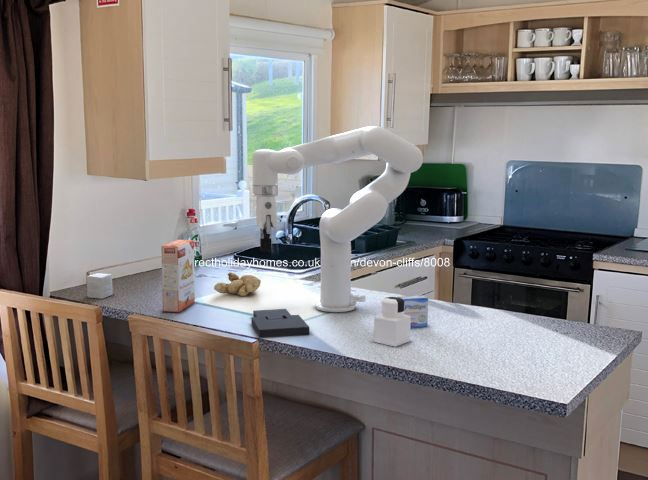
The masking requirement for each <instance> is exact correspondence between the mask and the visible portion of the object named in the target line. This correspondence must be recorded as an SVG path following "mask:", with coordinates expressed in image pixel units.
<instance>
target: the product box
mask: <svg viewBox="0 0 648 480" xmlns="http://www.w3.org/2000/svg"><path fill="white" fill-rule="evenodd" d="M86 294H87V298H90V299H99V300H100V299H102V300H103V299H105V298H109V297H111V296H113V295H114V291H113V275H112V273H100V272H96V273H93V274H90V275H86Z"/></svg>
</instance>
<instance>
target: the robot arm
mask: <svg viewBox="0 0 648 480" xmlns="http://www.w3.org/2000/svg"><path fill="white" fill-rule="evenodd" d="M370 155H374V156H375V157H377V158H379V159H381V160H382V161H384V162H385V163H386V166H385V170H384V171H383V172H382V174H381V175H379V176H377V178H375V179H374V180H372V181H371V182H370V183H369V184H367V185H366V186H364V187H363V188H361V189H359V190H358V191H356V192H355V193H354V194H353V195H352V196H351V198H350V200H349V203H348V205H347V206H345V207H344V208H343V209H341V208H337V207H334V208H329V209H327V210H326V211H324V212H323V213H322V215H321V217H320V220H319V223H318V224H319V225H318V226H319V227H318V230H319V241H320V301H318V302H316V303H315V309H316V310H317V311H322V312H327V313H347V312H350V311H353V310H356V303H358V302H359V303H361V302H362V303H363V302H366V295H360V294H353V293H352V292H351V291H352V290H351V289H352V283H351V282H352V243H351V241H353V240H355V239H357V238H358V237H360V236H361V235H363V234H364V233H366V232H367V231H368V230H370V229H371V228H372V227H374V226H376V225H377V224H378V223H379V222H380V221H381V220H382V219H383V218H384V217H385V216H386V214H387V210H388V205H389V204H390V203H392V202H393V201H394V200H396V199H397V198H399V196H400V195H402V193H403V192H404V191H405V190H406V189H407V187H408V185H409V181H410V179H411V173H414V172H417V171H418V170H419V169H420V168H421V167H422V165H423V161H424V156H423V153H422V150H420V148H419V147H418V146H416V145H415V144H413V143H412V142H409V141H407V139H405V138H403V137H400V136H399V135H397V134H396V133H394V132H392V131H391V130H388V128H385V127H383V126H379V125H369V126H364V127H360V128H356V129H352V130H349V131H345V132H342V133H337V134H333V135H331V136H329V135H328V136H325V137H323V138H320V139H319V138H318V139H317V140H313V141H309V142H305V143H301V144H297V145H293V146H288V147H285V148H283V149H281V150H273V149H257V150H254V151H253V153H252V196H253V197H255V198H256V201H255V202H256V203H255V204H256V205H255V206H256V208H255V209H256V210H255V211H256V212H255V214H256V226H257V227H259V233H260V234H259V235H260V237H259V247H260V248H259V249H260V252H271V251H272V228H273V229H274V230H276V229H277V228H278V218H277V216H278V215H277V201H276V197H278V196H279V188H278V187H279V185H278V184H279V183H278V182H279V181H278V179H279V177H278V174H283V175H291V176H292V175H293V176H294V175H297V174H298V173H300V172H302V170H303V169H306V168H310V167H315V166H322V165H335V164H341V163H344V162H348V161H351V160H355V159H359V158H362V157H363V158H364V157H368V156H370Z"/></svg>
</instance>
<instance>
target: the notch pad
mask: <svg viewBox="0 0 648 480" xmlns="http://www.w3.org/2000/svg"><path fill="white" fill-rule="evenodd" d="M251 326H252V328H253V329H254V331H255V333H256V334H257V336H258V338H260V339H261V338H272V337H273V338H276V337H290V336H294V337H295V336H308V335H310V326H309V325H308V323H307V322H306V321H305V320H304V319H303V318H302V317H301V316H300V314H291V315H285V319H269V320H267V319H266V317H253V316H252V317H251Z"/></svg>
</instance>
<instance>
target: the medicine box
mask: <svg viewBox="0 0 648 480" xmlns="http://www.w3.org/2000/svg"><path fill="white" fill-rule="evenodd" d="M398 297H399V298H401V299H403V300H404V315H409V316H411V324H410V329H413V328H415V329H417V328H426V327H428V323H429V320H428V319H429V298H428V297H427V296H426V295H424V294H421V295H419V294H418V295H403V296H401V295H400V296H398Z"/></svg>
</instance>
